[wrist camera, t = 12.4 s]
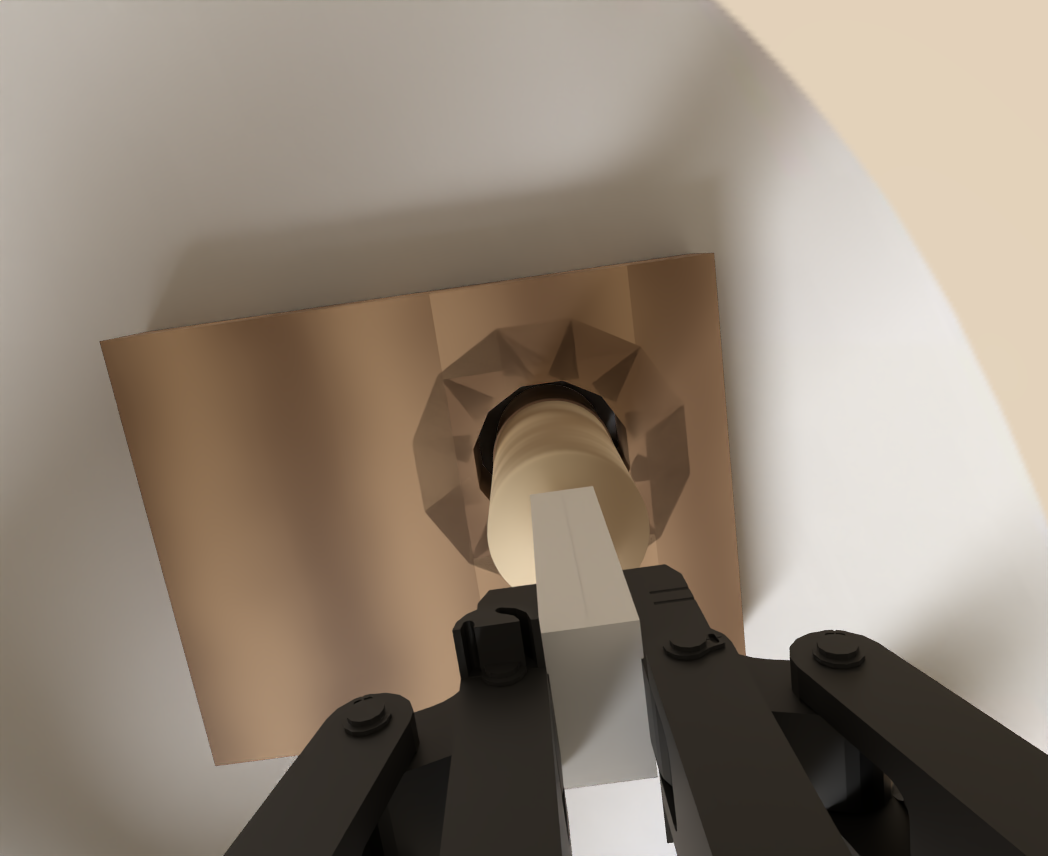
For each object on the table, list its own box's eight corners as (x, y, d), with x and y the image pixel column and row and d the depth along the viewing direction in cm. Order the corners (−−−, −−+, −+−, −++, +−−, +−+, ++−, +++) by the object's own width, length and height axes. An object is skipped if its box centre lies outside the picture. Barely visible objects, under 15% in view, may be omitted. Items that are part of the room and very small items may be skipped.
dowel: (505, 495, 28) (500, 620, 19) (486, 392, 27) (471, 467, 18) (610, 478, 28) (661, 595, 18) (595, 374, 27) (640, 439, 17)
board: (244, 716, 30) (215, 766, 27) (145, 332, 27) (99, 341, 24) (725, 652, 30) (749, 695, 27) (691, 253, 26) (714, 252, 23)
